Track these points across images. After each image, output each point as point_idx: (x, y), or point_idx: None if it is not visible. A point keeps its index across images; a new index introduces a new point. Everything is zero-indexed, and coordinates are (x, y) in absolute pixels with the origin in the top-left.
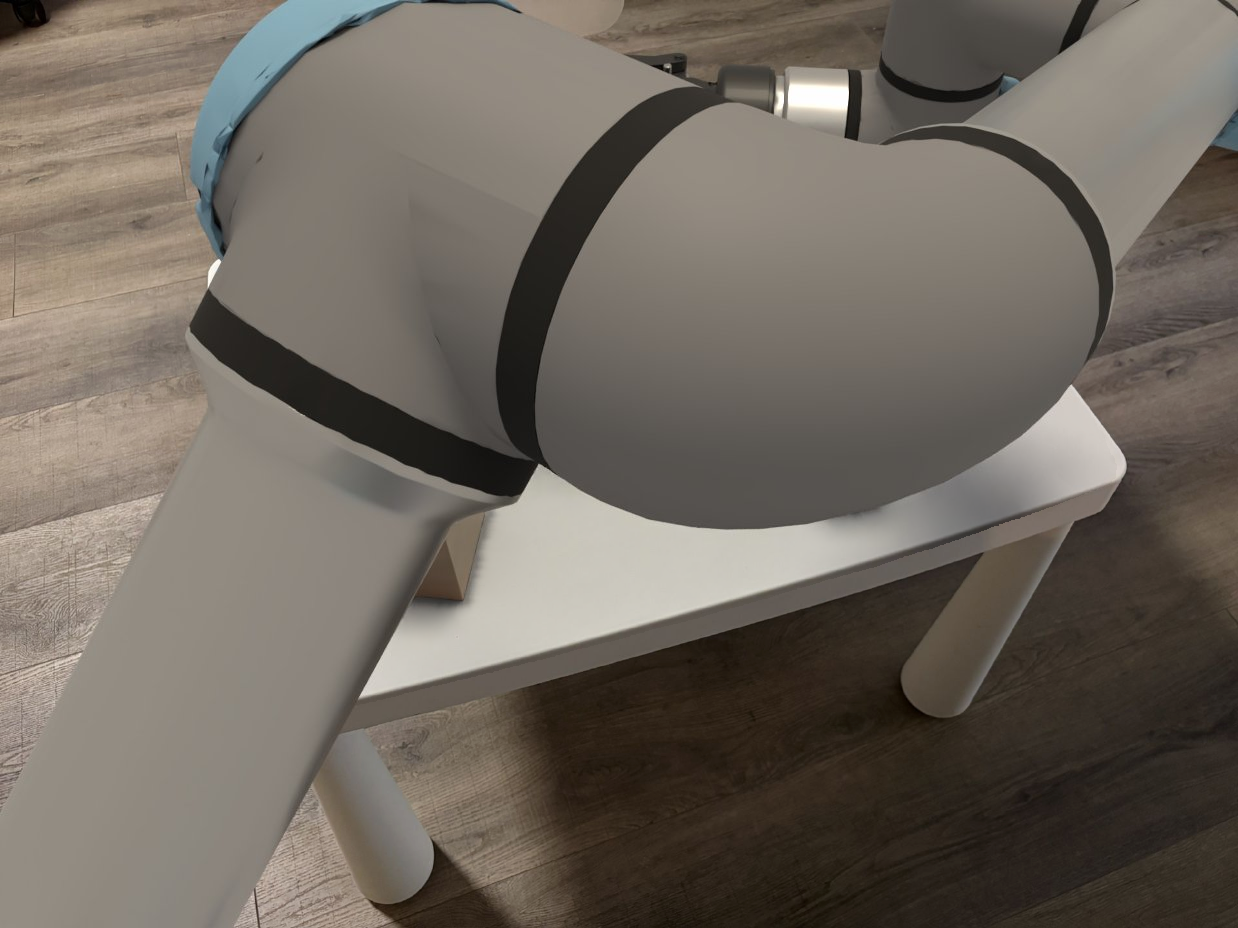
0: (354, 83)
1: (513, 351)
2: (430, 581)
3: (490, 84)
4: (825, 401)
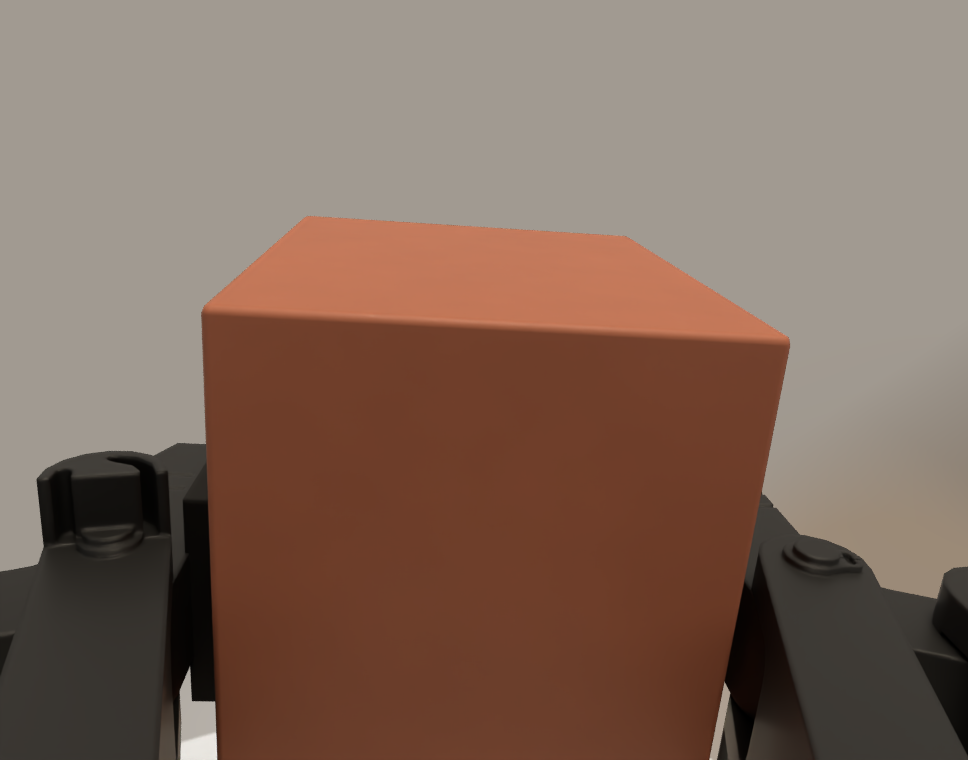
0: None
1: None
2: None
3: None
4: None
